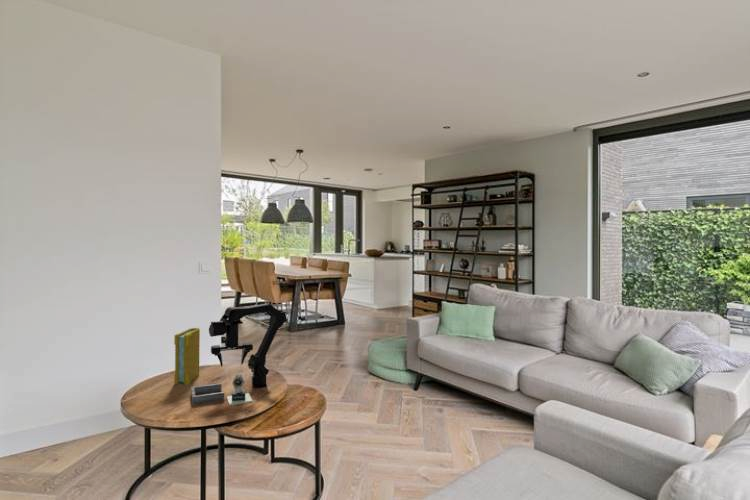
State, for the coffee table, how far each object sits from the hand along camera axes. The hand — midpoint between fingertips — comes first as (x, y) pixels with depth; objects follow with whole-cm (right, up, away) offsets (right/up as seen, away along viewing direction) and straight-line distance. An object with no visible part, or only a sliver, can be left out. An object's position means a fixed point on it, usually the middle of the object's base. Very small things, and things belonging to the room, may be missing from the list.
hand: (231, 365), depth 197 cm
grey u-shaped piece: (-9, -13, -6) cm, 17 cm away
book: (-29, -12, +18) cm, 37 cm away
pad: (+6, -13, -9) cm, 17 cm away
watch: (+6, -13, -9) cm, 17 cm away
